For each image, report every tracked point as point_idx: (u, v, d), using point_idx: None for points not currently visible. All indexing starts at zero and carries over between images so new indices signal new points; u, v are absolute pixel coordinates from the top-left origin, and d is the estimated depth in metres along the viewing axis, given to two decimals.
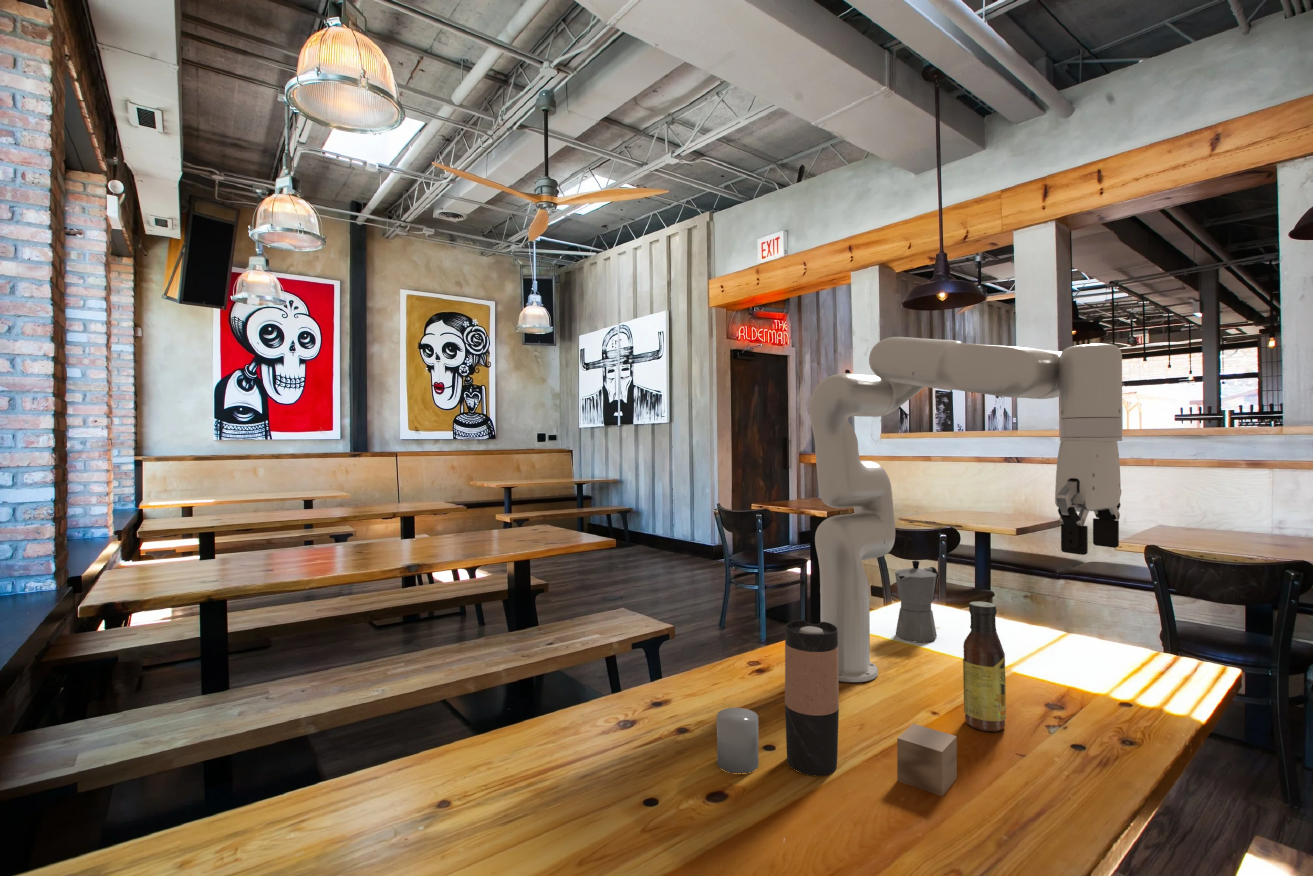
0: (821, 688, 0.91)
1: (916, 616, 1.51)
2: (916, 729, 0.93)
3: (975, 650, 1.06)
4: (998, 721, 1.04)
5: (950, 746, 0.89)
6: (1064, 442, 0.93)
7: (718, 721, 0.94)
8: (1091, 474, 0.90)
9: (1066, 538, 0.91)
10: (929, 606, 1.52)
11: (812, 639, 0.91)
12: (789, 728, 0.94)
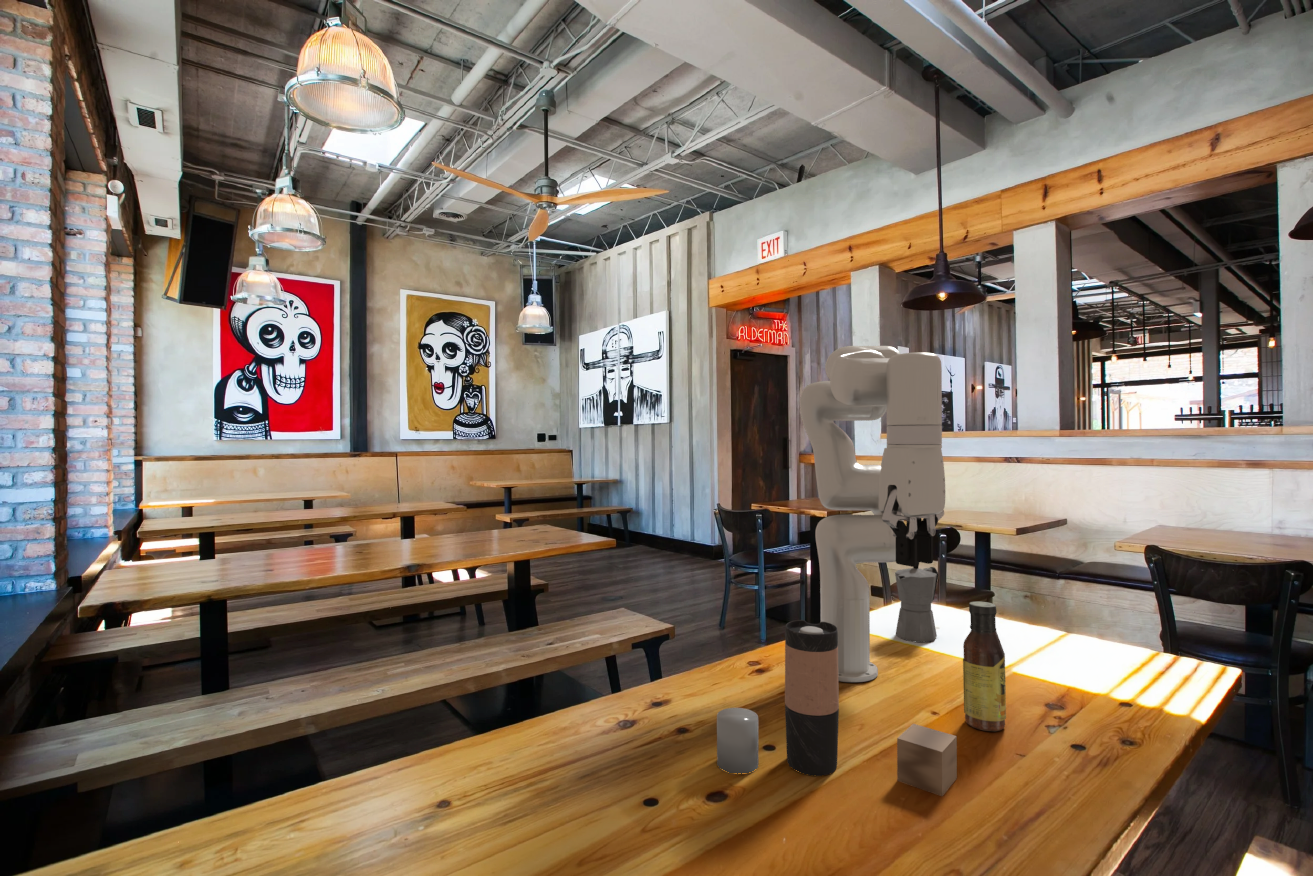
0: (821, 688, 0.91)
1: (916, 616, 1.51)
2: (916, 729, 0.93)
3: (975, 650, 1.06)
4: (998, 721, 1.04)
5: (950, 746, 0.89)
6: (886, 449, 0.94)
7: (718, 721, 0.94)
8: (907, 480, 0.91)
9: (898, 550, 0.94)
10: (929, 606, 1.52)
11: (812, 639, 0.91)
12: (789, 728, 0.94)
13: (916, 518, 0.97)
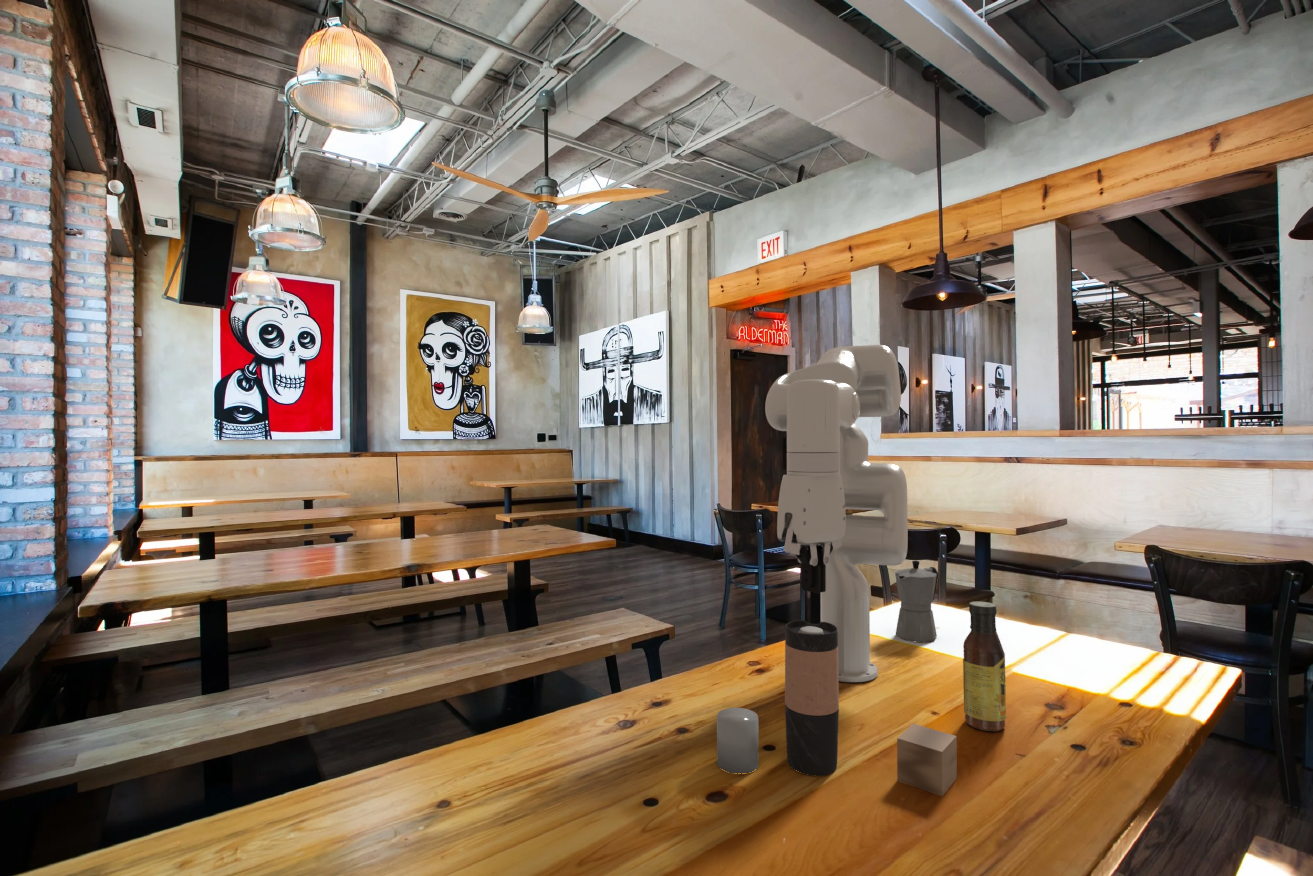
0: (821, 688, 0.91)
1: (916, 616, 1.51)
2: (916, 729, 0.93)
3: (975, 650, 1.06)
4: (998, 721, 1.04)
5: (950, 746, 0.89)
6: (784, 476, 0.94)
7: (718, 721, 0.94)
8: (802, 509, 0.91)
9: (803, 577, 0.94)
10: (929, 606, 1.52)
11: (812, 639, 0.91)
12: (789, 728, 0.94)
13: None
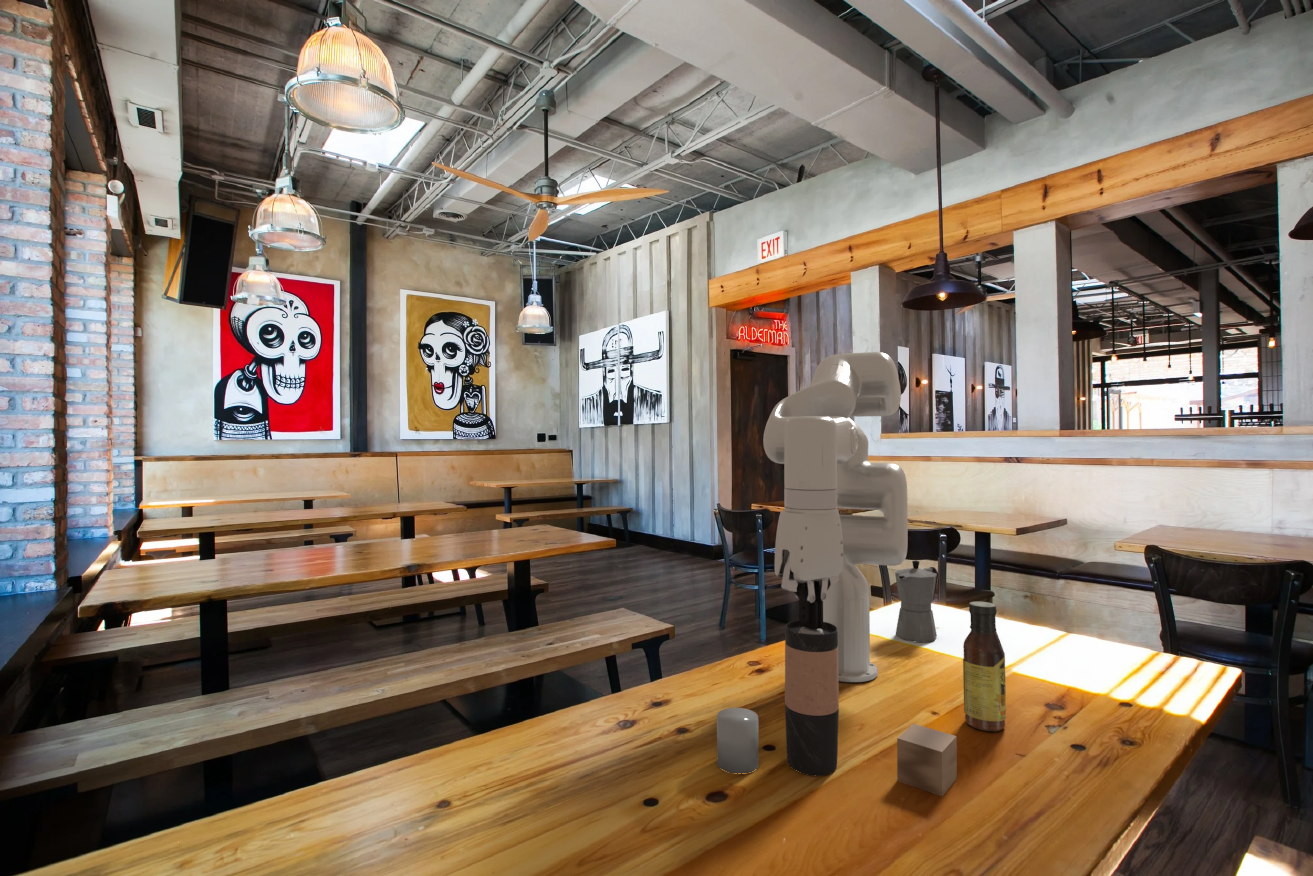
0: (821, 688, 0.91)
1: (916, 616, 1.51)
2: (916, 729, 0.93)
3: (974, 650, 1.06)
4: (998, 721, 1.04)
5: (950, 746, 0.89)
6: (781, 513, 0.94)
7: (718, 721, 0.94)
8: (799, 546, 0.91)
9: (801, 613, 0.94)
10: (929, 606, 1.52)
11: (812, 639, 0.91)
12: (789, 728, 0.94)
13: None
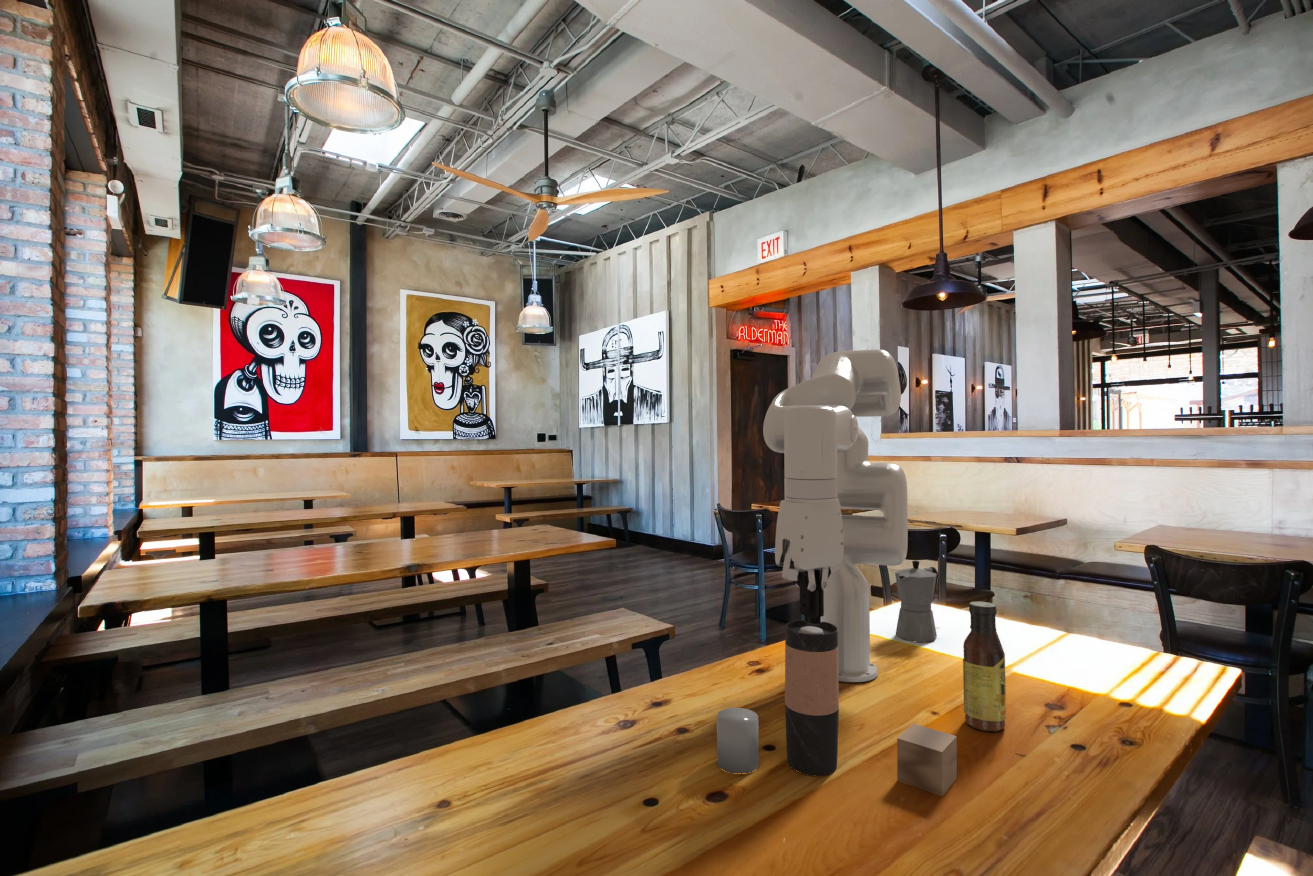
0: (821, 688, 0.91)
1: (916, 616, 1.51)
2: (916, 729, 0.93)
3: (975, 650, 1.06)
4: (998, 721, 1.04)
5: (950, 746, 0.89)
6: (781, 502, 0.94)
7: (718, 721, 0.94)
8: (800, 536, 0.91)
9: (801, 601, 0.95)
10: (929, 606, 1.52)
11: (812, 639, 0.91)
12: (789, 728, 0.94)
13: None
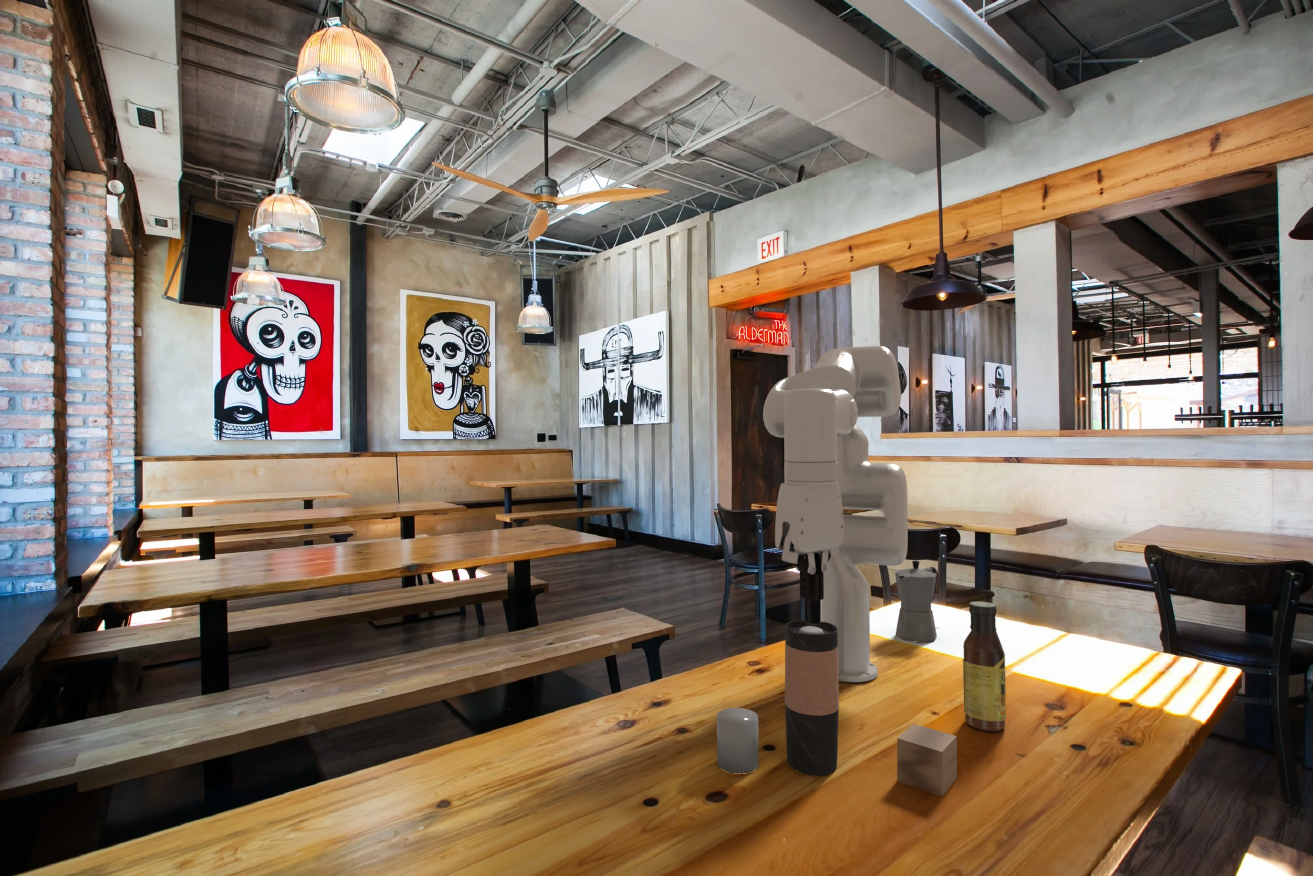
0: (821, 688, 0.91)
1: (916, 616, 1.51)
2: (916, 729, 0.93)
3: (975, 650, 1.06)
4: (998, 721, 1.04)
5: (950, 746, 0.89)
6: (781, 485, 0.94)
7: (718, 721, 0.94)
8: (800, 518, 0.91)
9: (801, 585, 0.95)
10: (929, 606, 1.52)
11: (812, 639, 0.91)
12: (789, 728, 0.94)
13: None
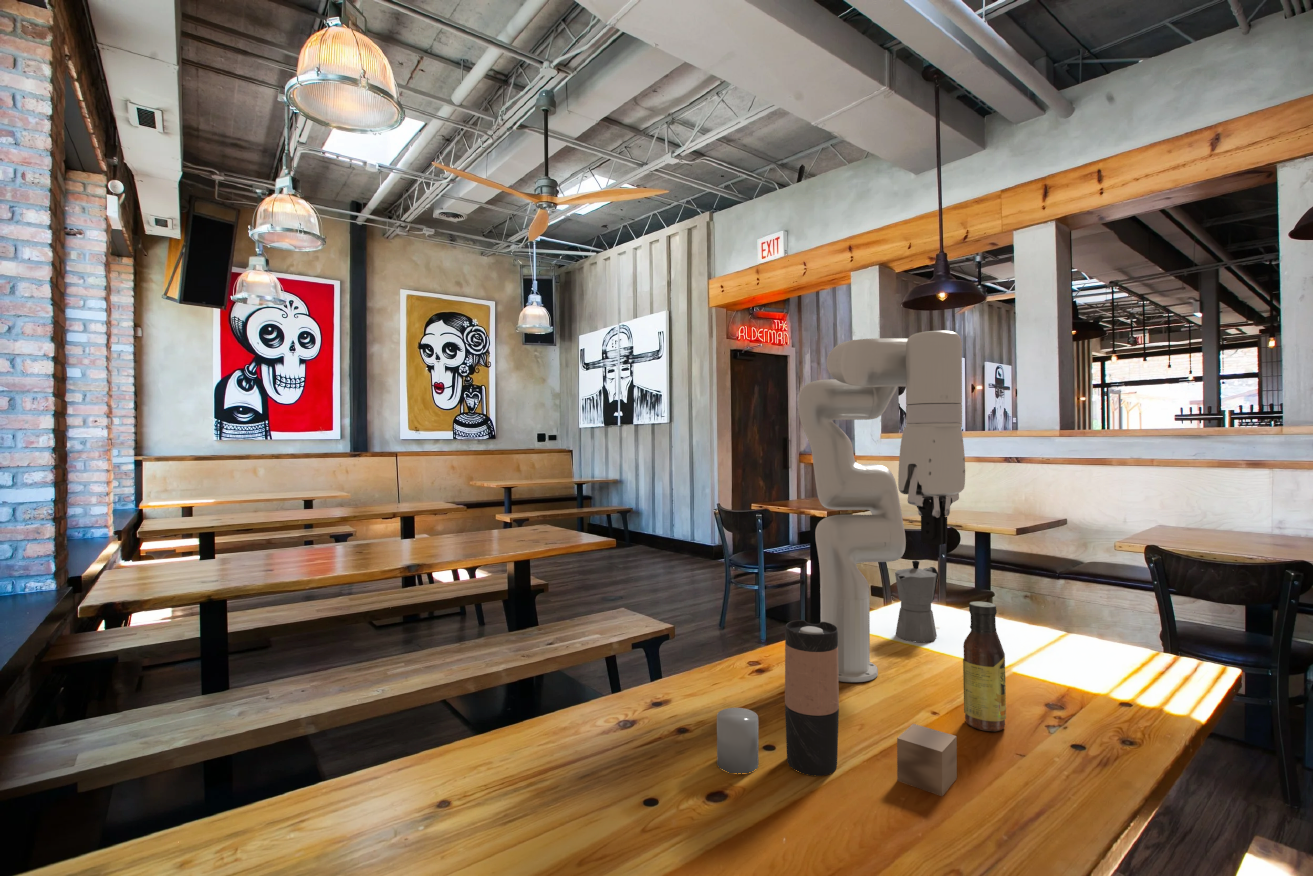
0: (821, 688, 0.91)
1: (916, 616, 1.51)
2: (916, 729, 0.93)
3: (975, 650, 1.06)
4: (998, 721, 1.04)
5: (950, 746, 0.89)
6: (906, 428, 0.94)
7: (718, 721, 0.94)
8: (928, 459, 0.91)
9: (924, 529, 0.94)
10: (929, 606, 1.52)
11: (812, 639, 0.91)
12: (789, 728, 0.94)
13: None
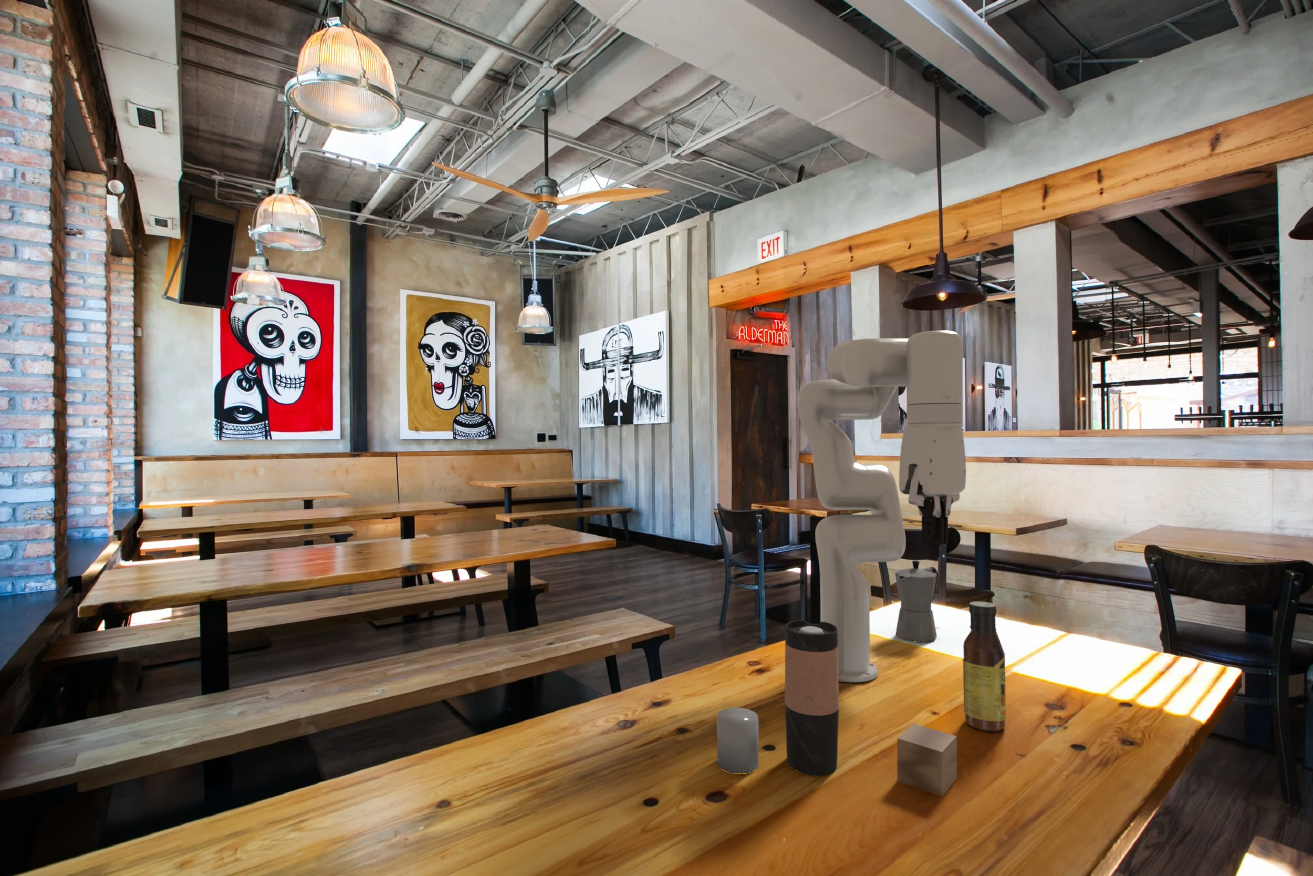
0: (821, 688, 0.91)
1: (916, 616, 1.51)
2: (916, 729, 0.93)
3: (975, 650, 1.06)
4: (998, 721, 1.04)
5: (950, 746, 0.89)
6: (906, 428, 0.94)
7: (718, 721, 0.94)
8: (929, 459, 0.91)
9: (925, 529, 0.94)
10: (929, 606, 1.52)
11: (812, 639, 0.91)
12: (789, 728, 0.94)
13: None
